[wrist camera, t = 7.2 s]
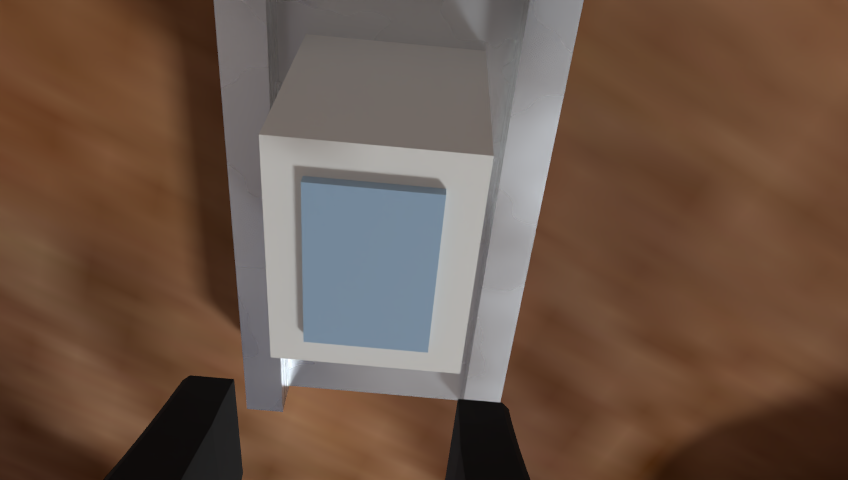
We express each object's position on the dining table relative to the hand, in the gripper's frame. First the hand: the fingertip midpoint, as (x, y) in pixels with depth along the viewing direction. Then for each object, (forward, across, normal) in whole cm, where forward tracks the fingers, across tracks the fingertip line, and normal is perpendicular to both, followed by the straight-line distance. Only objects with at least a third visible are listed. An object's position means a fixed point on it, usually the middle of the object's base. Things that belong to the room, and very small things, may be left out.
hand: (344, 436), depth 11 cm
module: (+8, 0, 0) cm, 8 cm away
